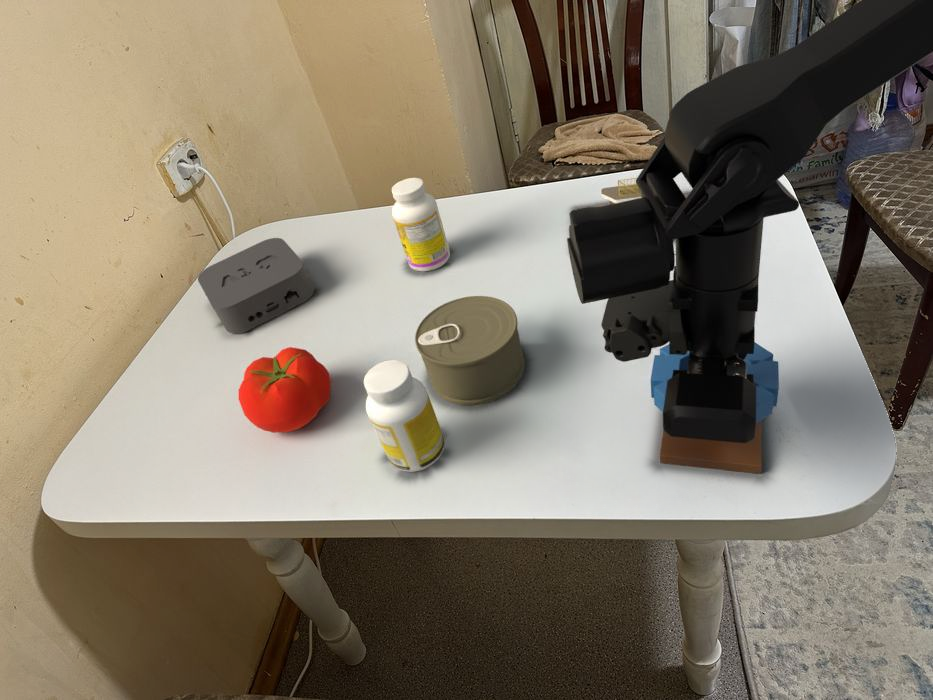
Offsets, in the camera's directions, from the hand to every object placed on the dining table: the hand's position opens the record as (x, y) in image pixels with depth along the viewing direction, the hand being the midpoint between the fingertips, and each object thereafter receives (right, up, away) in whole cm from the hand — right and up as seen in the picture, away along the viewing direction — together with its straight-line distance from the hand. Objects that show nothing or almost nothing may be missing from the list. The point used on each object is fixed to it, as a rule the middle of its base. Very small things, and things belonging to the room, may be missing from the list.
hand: (711, 413), depth 58 cm
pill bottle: (-27, -6, +14) cm, 31 cm away
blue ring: (+1, +2, +4) cm, 4 cm away
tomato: (-42, -2, +24) cm, 49 cm away
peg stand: (+3, -3, +8) cm, 9 cm away
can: (-20, +3, +22) cm, 30 cm away
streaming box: (-53, +14, +46) cm, 72 cm away
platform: (+4, +24, +39) cm, 46 cm away
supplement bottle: (-27, +19, +43) cm, 54 cm away
